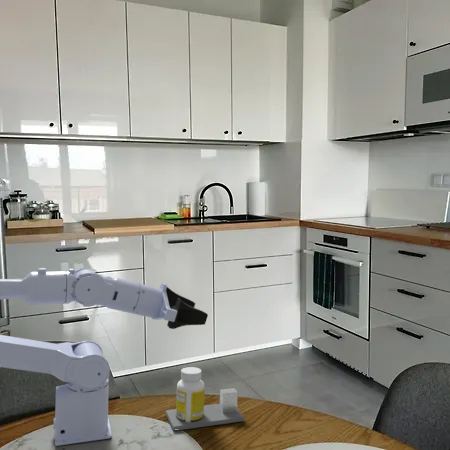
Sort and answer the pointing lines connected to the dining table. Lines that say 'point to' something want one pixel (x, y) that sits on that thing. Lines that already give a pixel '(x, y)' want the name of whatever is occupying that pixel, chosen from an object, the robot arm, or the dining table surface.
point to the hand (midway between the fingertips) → (199, 313)
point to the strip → (212, 412)
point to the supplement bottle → (190, 395)
